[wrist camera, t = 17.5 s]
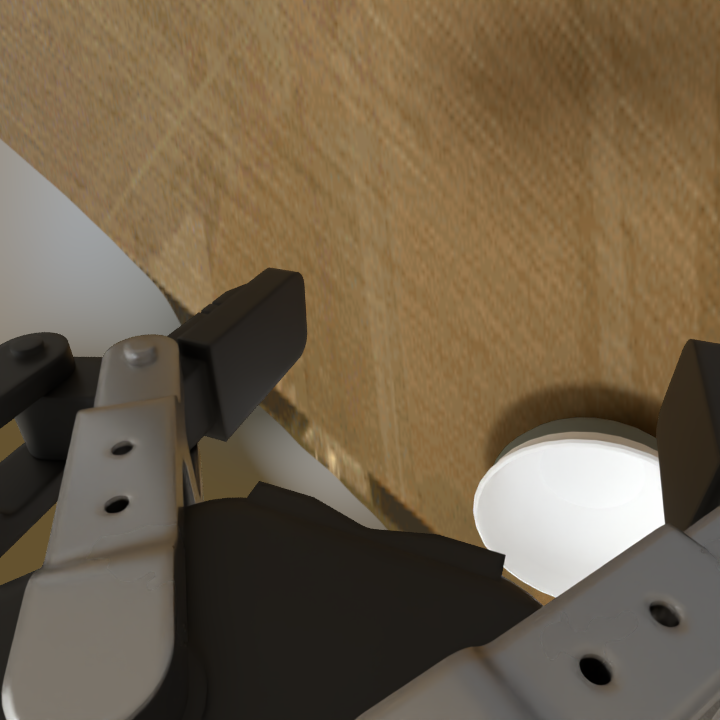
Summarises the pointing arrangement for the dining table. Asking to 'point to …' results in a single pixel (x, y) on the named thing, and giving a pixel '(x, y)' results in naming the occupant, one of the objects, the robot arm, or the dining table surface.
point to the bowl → (569, 499)
